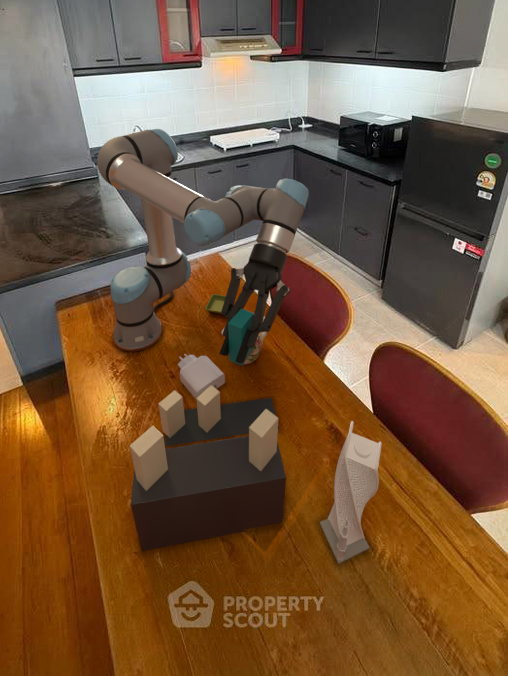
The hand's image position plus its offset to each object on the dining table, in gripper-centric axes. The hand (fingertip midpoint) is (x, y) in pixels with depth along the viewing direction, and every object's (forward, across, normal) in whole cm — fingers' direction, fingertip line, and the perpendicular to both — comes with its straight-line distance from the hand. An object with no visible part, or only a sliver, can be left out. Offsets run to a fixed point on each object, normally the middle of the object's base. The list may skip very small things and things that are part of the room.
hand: (231, 358), depth 75 cm
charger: (+13, +21, -33) cm, 41 cm away
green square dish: (-7, +32, -53) cm, 63 cm away
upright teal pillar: (-1, 0, -5) cm, 5 cm away
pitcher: (+3, +13, -43) cm, 45 cm away
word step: (+31, -2, -15) cm, 34 cm away
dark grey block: (+18, +7, -27) cm, 34 cm away
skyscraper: (+23, -27, -22) cm, 42 cm away
